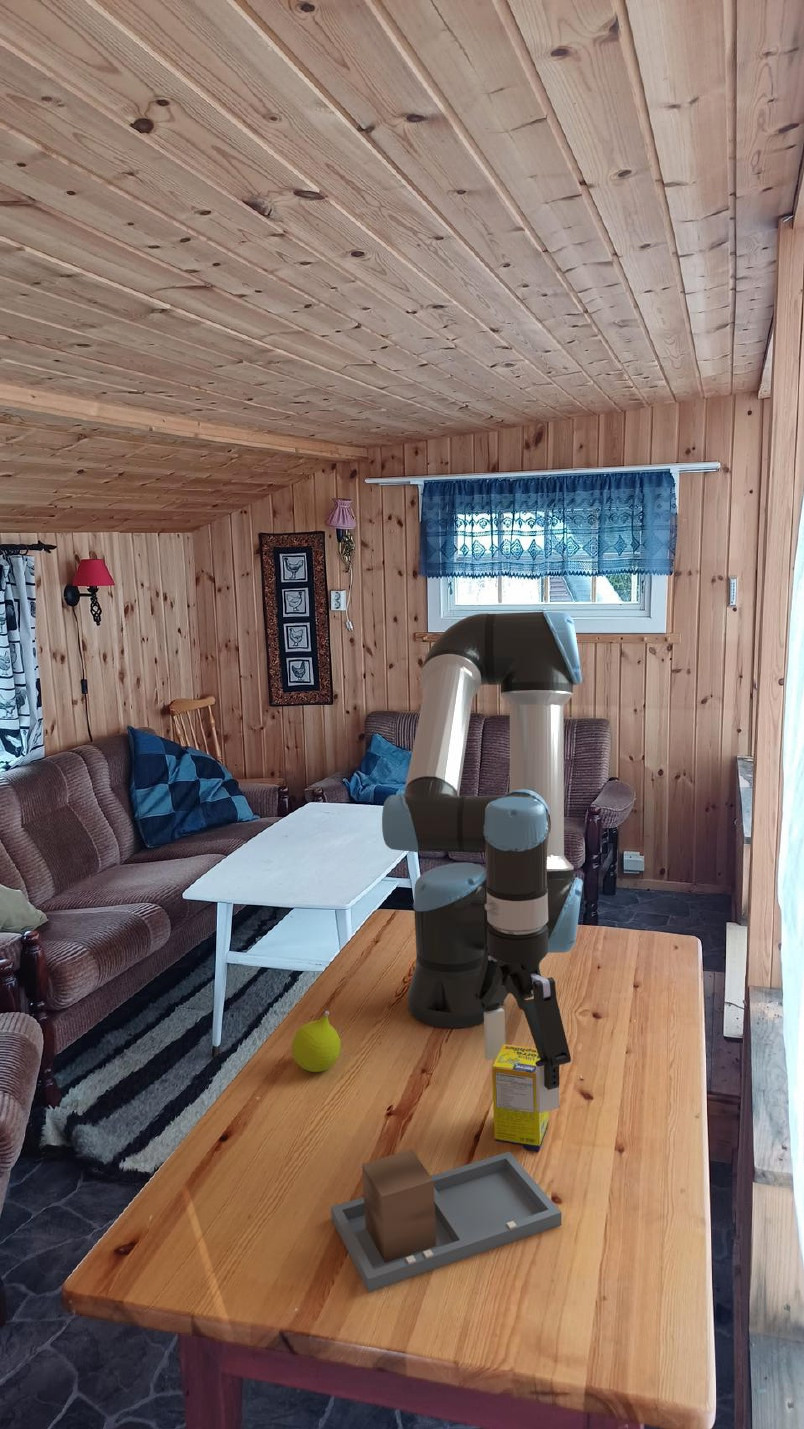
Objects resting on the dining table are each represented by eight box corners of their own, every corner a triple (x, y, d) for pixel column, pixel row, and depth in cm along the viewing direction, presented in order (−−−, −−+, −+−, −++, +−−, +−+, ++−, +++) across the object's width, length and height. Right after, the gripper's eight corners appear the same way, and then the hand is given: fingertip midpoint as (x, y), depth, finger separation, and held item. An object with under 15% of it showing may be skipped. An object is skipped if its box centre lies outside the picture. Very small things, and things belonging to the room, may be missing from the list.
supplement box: (548, 1124, 128) (547, 1048, 126) (539, 1152, 123) (538, 1073, 121) (504, 1117, 130) (502, 1042, 128) (493, 1144, 125) (491, 1066, 123)
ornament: (351, 1069, 144) (347, 1006, 142) (311, 1087, 139) (306, 1022, 137) (323, 1050, 149) (320, 989, 147) (284, 1067, 145) (279, 1005, 143)
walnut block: (365, 1227, 110) (362, 1163, 109) (414, 1211, 112) (411, 1148, 111) (385, 1263, 105) (381, 1196, 103) (436, 1245, 107) (433, 1180, 105)
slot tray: (332, 1223, 112) (330, 1205, 111) (509, 1166, 120) (509, 1149, 120) (369, 1296, 101) (368, 1277, 101) (561, 1228, 109) (561, 1210, 109)
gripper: (446, 896, 131) (451, 1043, 135) (542, 967, 108) (545, 1142, 112) (496, 887, 134) (500, 1031, 137) (600, 954, 111) (600, 1125, 115)
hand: (520, 1081), depth 125 cm, fingers open, 13 cm apart
